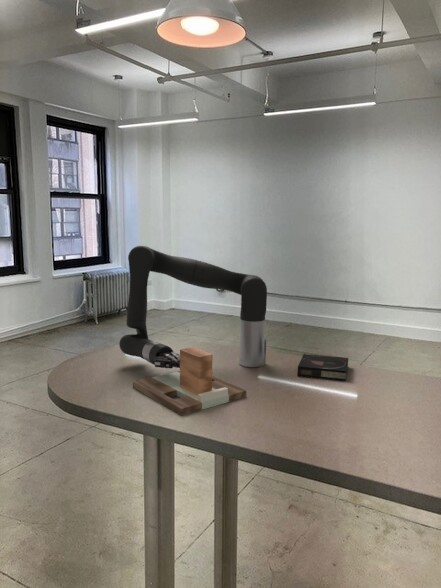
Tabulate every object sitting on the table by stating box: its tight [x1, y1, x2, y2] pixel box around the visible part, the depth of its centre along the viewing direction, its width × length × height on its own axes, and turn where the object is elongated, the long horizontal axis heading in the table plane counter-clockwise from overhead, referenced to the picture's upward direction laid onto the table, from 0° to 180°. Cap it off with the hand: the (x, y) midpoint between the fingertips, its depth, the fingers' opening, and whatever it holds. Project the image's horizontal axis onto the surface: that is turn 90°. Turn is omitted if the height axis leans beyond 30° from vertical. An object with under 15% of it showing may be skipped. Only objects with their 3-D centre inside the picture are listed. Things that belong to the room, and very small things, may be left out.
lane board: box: [132, 370, 247, 416], centre depth 154 cm, size 24×28×4 cm
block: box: [179, 346, 214, 396], centre depth 150 cm, size 5×10×12 cm, turn 39°
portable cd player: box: [296, 353, 349, 382], centre depth 176 cm, size 16×17×4 cm
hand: (186, 366), depth 154 cm, fingers closed
